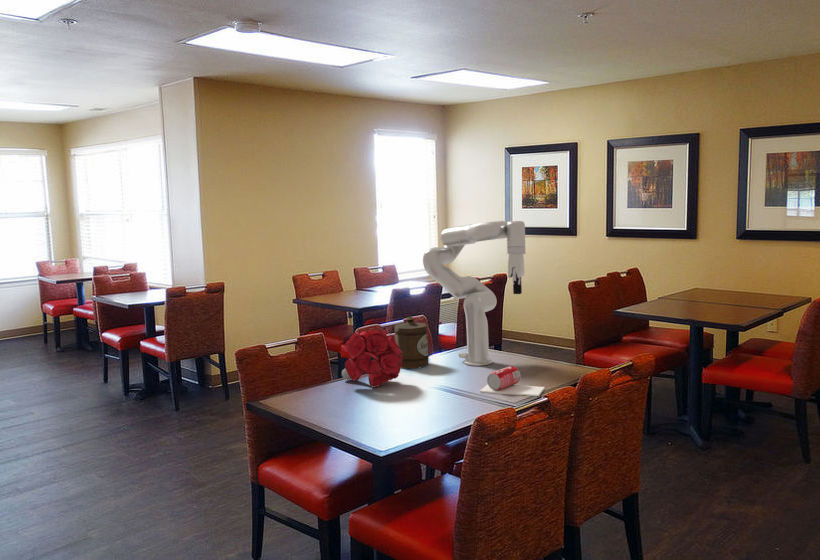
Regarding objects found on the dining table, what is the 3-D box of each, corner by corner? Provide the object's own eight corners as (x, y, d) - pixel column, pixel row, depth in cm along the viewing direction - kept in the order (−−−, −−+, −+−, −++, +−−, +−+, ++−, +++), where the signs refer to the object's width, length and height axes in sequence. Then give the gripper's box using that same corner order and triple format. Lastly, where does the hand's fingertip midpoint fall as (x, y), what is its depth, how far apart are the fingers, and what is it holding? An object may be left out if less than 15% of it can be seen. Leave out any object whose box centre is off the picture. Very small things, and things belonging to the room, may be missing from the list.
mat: (480, 392, 248) (480, 390, 248) (488, 384, 258) (488, 383, 258) (538, 396, 239) (538, 394, 239) (544, 388, 249) (544, 387, 249)
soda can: (516, 362, 254) (495, 369, 245) (524, 380, 252) (503, 387, 243) (504, 369, 259) (483, 375, 250) (511, 386, 257) (490, 393, 248)
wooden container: (428, 368, 289) (426, 318, 287) (394, 369, 290) (392, 320, 287) (428, 360, 304) (426, 313, 302) (396, 361, 304) (394, 314, 302)
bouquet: (335, 404, 263) (381, 376, 245) (316, 350, 270) (359, 319, 252) (373, 395, 279) (419, 368, 261) (354, 344, 286) (398, 315, 268)
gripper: (512, 249, 285) (513, 291, 287) (502, 252, 272) (504, 296, 273) (529, 249, 282) (530, 291, 284) (520, 251, 269) (521, 296, 270)
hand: (517, 293), depth 279 cm, fingers closed
